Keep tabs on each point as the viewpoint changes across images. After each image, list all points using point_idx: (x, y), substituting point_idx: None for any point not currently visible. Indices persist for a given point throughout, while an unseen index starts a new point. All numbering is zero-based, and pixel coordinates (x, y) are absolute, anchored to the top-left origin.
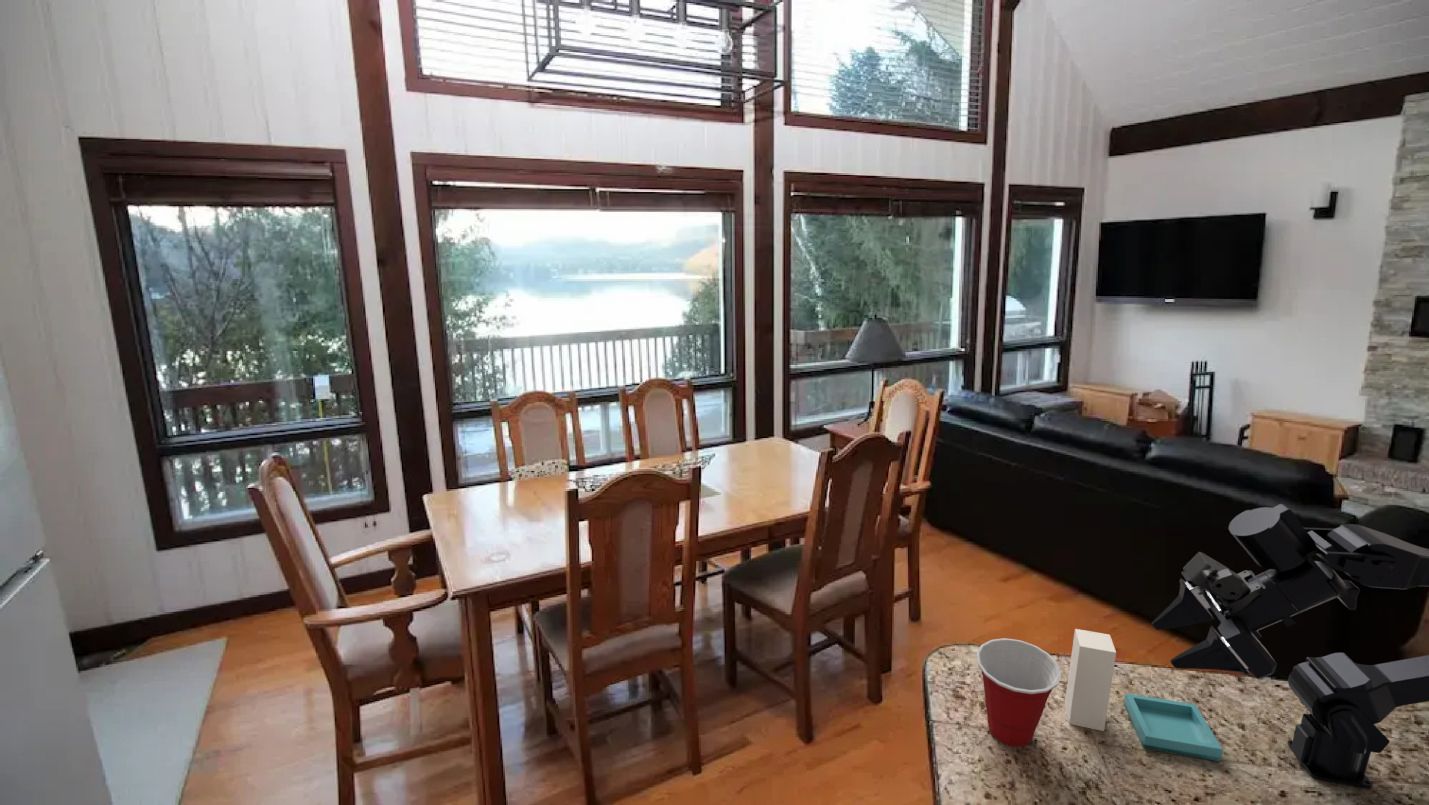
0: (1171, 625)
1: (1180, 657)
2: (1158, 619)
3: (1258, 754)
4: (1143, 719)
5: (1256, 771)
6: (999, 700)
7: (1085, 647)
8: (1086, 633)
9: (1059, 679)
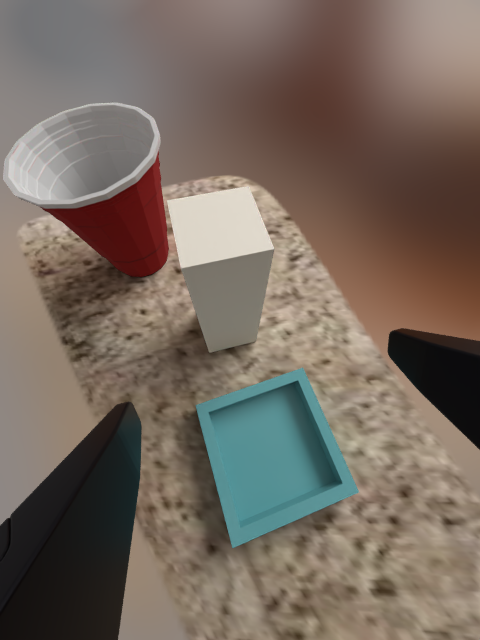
0: (437, 397)
1: (89, 436)
2: (419, 338)
3: (305, 623)
4: (242, 399)
5: (244, 613)
6: (66, 186)
7: (169, 210)
8: (241, 206)
9: (54, 203)
